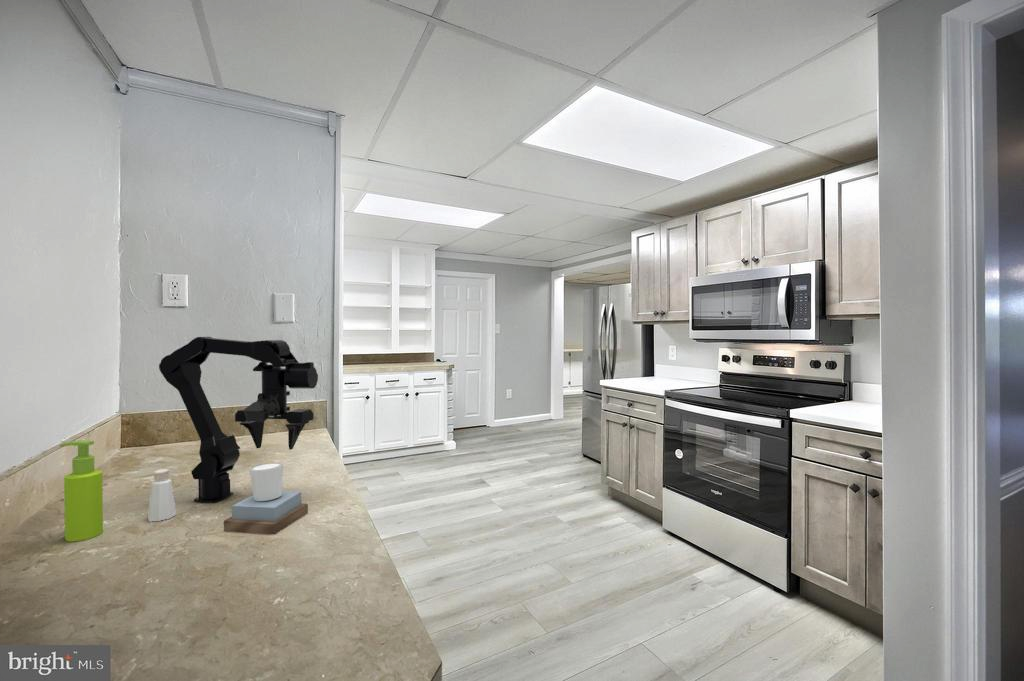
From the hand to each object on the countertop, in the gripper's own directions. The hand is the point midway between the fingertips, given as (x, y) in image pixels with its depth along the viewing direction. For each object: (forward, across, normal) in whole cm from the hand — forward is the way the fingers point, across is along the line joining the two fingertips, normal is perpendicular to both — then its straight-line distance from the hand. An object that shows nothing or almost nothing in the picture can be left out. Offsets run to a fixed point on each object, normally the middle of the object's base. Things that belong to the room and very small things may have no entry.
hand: (274, 448), depth 118 cm
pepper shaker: (+13, -18, -15) cm, 27 cm away
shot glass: (+8, +8, -13) cm, 17 cm away
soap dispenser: (+13, -26, -26) cm, 39 cm away
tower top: (+11, +8, -13) cm, 19 cm away
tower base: (+14, +8, -14) cm, 21 cm away
